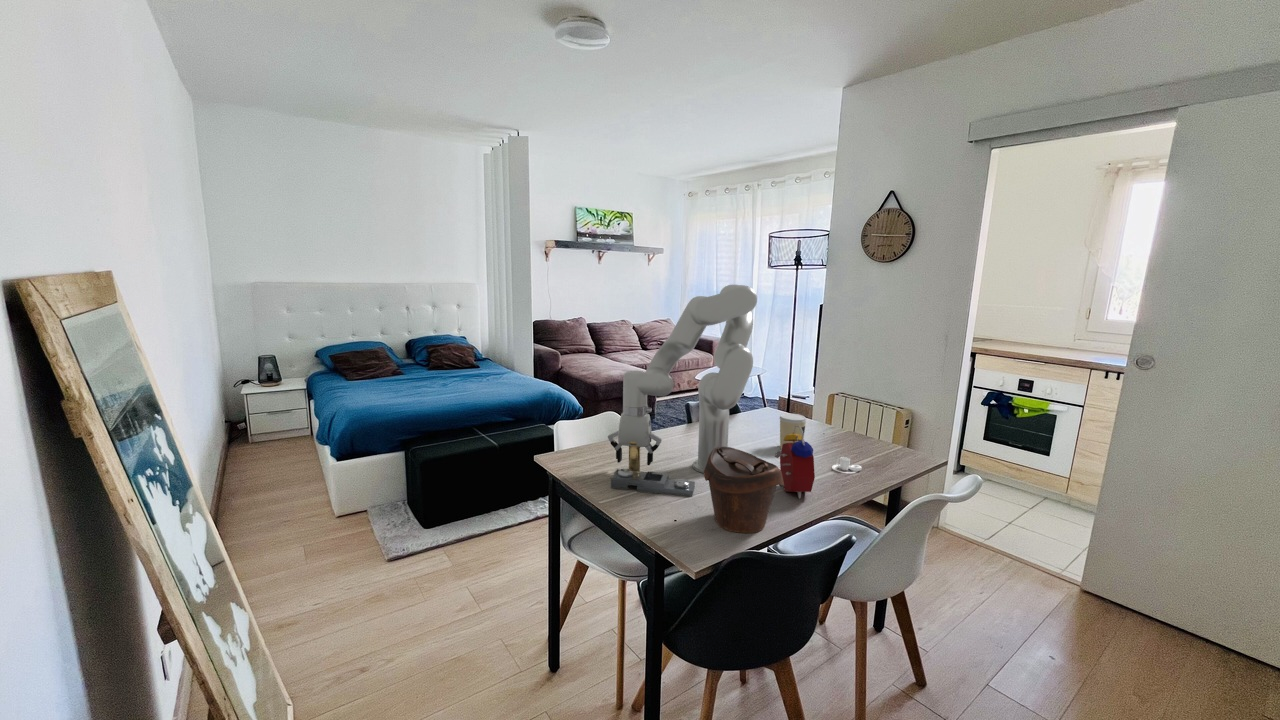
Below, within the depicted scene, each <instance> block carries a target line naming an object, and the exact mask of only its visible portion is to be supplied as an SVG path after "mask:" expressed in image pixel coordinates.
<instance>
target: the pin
mask: <svg viewBox="0 0 1280 720" xmlns="http://www.w3.org/2000/svg"><path fill="white" fill-rule="evenodd" d="M630 445H637V444H636V442H631V441H630ZM628 469H631V470H632V471H641V447H636V446H628Z"/></svg>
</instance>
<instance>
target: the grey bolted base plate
mask: <svg viewBox="0 0 1280 720" xmlns="http://www.w3.org/2000/svg"><path fill="white" fill-rule="evenodd" d="M669 477H670V474H669V472H668V473H667V472H656V471H641V470H640V471H632V470H631V469H629V468H619V469H618V468H617V469H616V470H615V472H614V473H613V474H612V476H611V477H610V488H611V489H613V490H614V489H616V490H625V491H627V490H629V488H630V487H631V486H636V492H638V493H648V494H657V495H659V494H663V495H664V494H665V495H675V496H676V495H677V496H683V497H684V496H685V497H693V494H694V491H695V487H696V486H695V485H696V482H695V481H693V480H688V479H685V478H677V479H671V478H670V479H669Z"/></svg>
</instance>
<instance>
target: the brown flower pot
mask: <svg viewBox="0 0 1280 720" xmlns="http://www.w3.org/2000/svg"><path fill="white" fill-rule="evenodd" d="M703 475H704V480H705V481H706V482H707V481H708V484H709V485H708V487H709V492H710V497H711V503H712V508H713V514H714V515H713V516H714V519H715V521H716V523H717V525H718V526H720V527H722V529H724V530H727V531H729V532H734V533H739V534H740V533H741V534H754V533H758V532H760V531H762V530H763V529H764V528H765V527H766V524H767V519H768V515H769V513H770V509H771V506H772V503H773V500H774V496H775V493H776V488H777V487H778V486H779V487H780V488H784V482H783V477H782V472H781V470H780V468H779V466H777V465H776V464H773V463H771V462H769V461H767V460H764V459H762V458H760V457H757V456H755V455H753V454H752V453H748V452H746V451H743V450H740V449H739V448H738V449H737V448H734V447H731V446H728V447H725V446H722V447H717V448H715V449H714V450H713V451H712V452H711V453H710V455H709V457H708V461H707V464H706V467H705V469H704V473H703Z"/></svg>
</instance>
